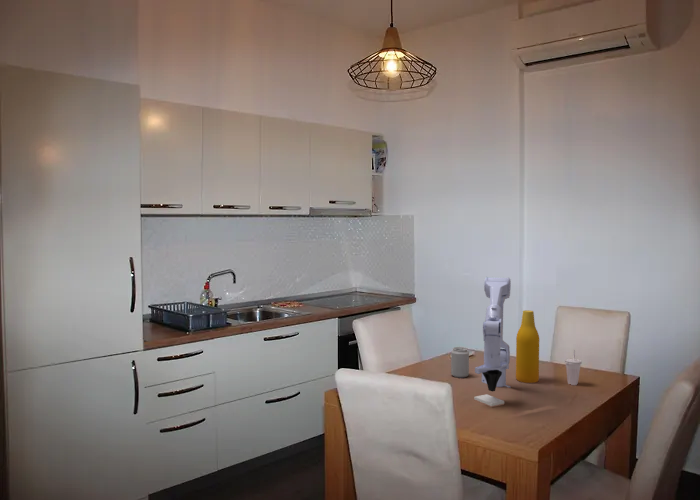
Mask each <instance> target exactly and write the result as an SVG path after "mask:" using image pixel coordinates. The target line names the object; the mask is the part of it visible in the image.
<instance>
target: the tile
mask: <svg viewBox="0 0 700 500" xmlns="http://www.w3.org/2000/svg"><path fill="white" fill-rule="evenodd" d="M473 399H474V401H475V402H477V403H481V404H482V405H485V406H487V407H490V408H495V407H499V406H504V405H505V400H503V399H500V398H497V397H495V396H493V395H489V394H487V393H486V394H481V395H477V396H474V398H473Z"/></svg>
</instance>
